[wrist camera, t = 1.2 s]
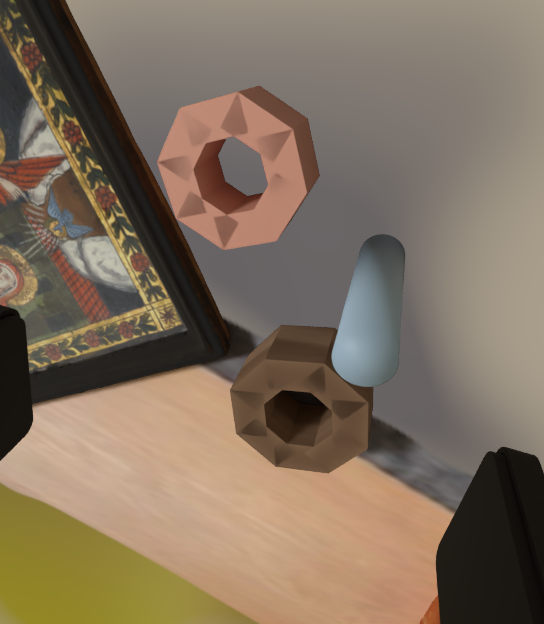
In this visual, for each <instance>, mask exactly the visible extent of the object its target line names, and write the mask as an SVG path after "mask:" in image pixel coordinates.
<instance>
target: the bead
mask: <svg viewBox="0 0 544 624" xmlns="http://www.w3.org/2000/svg"><path fill="white" fill-rule="evenodd" d="M337 333H338V330H336V329H335V328H327V327H309V326H291V325H281V326H280V327H279V328H278V329H276V330H275V331H274V332H273V333H272V334H271V335H270V336H269V337H268V338H266V339H265V340H264V341H263V342H262V343H261V344H260V345H259V346H258V347H257V348H255V349H254V350H253V351H252V352H251V353H250V354H249V355H248V357H247V359H246V361H245V363H244V365H243V367H242V369H241V370H240V372H239V374H238V376H237V378H236V380H235V382H234V383H233V385H232V387H231V389H230V394H231V400H232V407H233V414H234V421H235V428H236V434H237V435H239V436H240V437H241V438H242V439H243V440H245V441H246V442H247V443H248V444H249V445H251V446H252V447H253V448H254V449H255V450H257V451H258V452H259V453H260V454H261V455H263V456H264V457H265V458H266V459H267V460H269V461H270V462H271V463H272V464H273V465H275V466H276V467H283V468H291V469H298V470H306V471H314V472H321V473H330V472H331V471H333V470H335V469H336V468H338V467H339V466H341V465H343V464H344V463H346V462H347V461H349V460H351V459H352V458H354V457H355V456H357V455H359V454H360V453H362V452H363V451H365V450H367V449H368V442H369V434H370V426H371V418H372V410H373V387H363V386H358V385H354V384H352V383H350V382H348V381H346V380H345V379H343V378H342V377H341V376H340V375H339V374H338V373H337V371H336V370H335V368H334V366H333V363H332V351H333V347H334V343H335V340H336V336H337ZM284 390H288V391H299V392H311V393H312V394H313V395H314V396H315V397H316V398H318V399H319V400H320V401H321V402H322V403H323V404H324V405H325V406H319V405H309V404H300V403H298V402H297V401H296V400H295V399H294V398H293V397H291V396H290V395H289V394H288V393H287V392H286V391H284Z"/></svg>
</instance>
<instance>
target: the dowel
mask: <svg viewBox="0 0 544 624" xmlns="http://www.w3.org/2000/svg"><path fill="white" fill-rule="evenodd" d="M404 264H405V251H404V248H403V246H402V244H401V243H400V242H399V241H398V240H397V239H396V238H394V237H392V236H389V235H382V234H381V235H375V236H372V237H370V238H369V239H367V240H366V241H365V242H364V244H363V245H362V247H361V249H360V253H359V256H358V260H357V264H356V267H355V271H354V274H353V278H352V282H351V286H350V289H349V293H348V296H347V300H346V303H345V307H344V311H343V315H342V318H341V322H340V325H339V329H338V333H337V336H336V340H335V343H334V347H333V351H332V363H333V366H334V368H335V370H336V371H337V373H338V374H339V375H340V376H341V377H342V378H343V379H345V380H346V381H348V382H350V383H352V384H354V385H358V386H363V387H373V386H378V385H381V384H383V383H385V382H387V381H388V380H390V379H391V378H392V377H393V375H394V374H395V373H396V370H397V368H398V363H399V348H400V331H401V314H402V297H403V280H404Z"/></svg>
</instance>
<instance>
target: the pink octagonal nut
mask: <svg viewBox="0 0 544 624" xmlns="http://www.w3.org/2000/svg"><path fill="white" fill-rule="evenodd" d="M233 136H234V137H236V138H237V139H239V140H240V141H242V142H243V143H244V144H246V145H247V146H249V147H251V148H252V149H253V150H255V151H257V152H258V153H259V154H261V159H262V163H263V166H264V171H265V174H266V179H267V182H268V186H267V188H266V190H265V191H264V193H261V194H256V195H251V196H246V195H245V194H243V193H242V192H240V191H239V190H237V189H236V188H234V187H233V186H231V185H230V184H228V183H227V182H225V179H224V175H223V172H222V169H221V165H220V161H219V158H218V154H219V152H220V150H221V148H222V146H223V144H224V142H225V140H226V138H229V137H233ZM157 164H158V167H159V170H160V173H161V176H162V179H163V182H164V185H165V188H166V190H167V193H168V196H169V199H170V202H171V205H172V208H173V211H174V214H175V217H176V219H178V220H179V221H180V222H182V223H183V224H185V225H187V226H188V227H190V228H191V229H193V230H194V231H196V232H197V233H199V234H200V235H202V236H203V237H205V238H206V239H208V240H209V241H211V242H213V243H214V244H215V245H217V246H219V247H220V248H222V249H223V250H226V249H232V248H238V247H244V246H250V245H256V244H262V243H268V242H274V241H277V240H278V238H279V237H280V235H281V234H282V233H283V231H284V230H285V228H286V227H287V225H288V224H289V223H290V221H291V220H292V218H293V217H294V215H295V213H296V211H297V210H298V209H299V207H300V206H301V204H302V203H303V201H304V199H305V198H306V196H307V195H308V193H309V192H310V190H311V188H312V187H313V185H314V184H315V182H316V181H317V179H318V177H319V176H320V175H319V170H318V166H317V161H316V156H315V151H314V147H313V141H312V137H311V132H310V128H309V122H308V119H307V118H306V117H304V116H303V115H301V114H300V113H299V112H297V111H296V110H294V109H293V108H291V107H290V106H288V105H287V104H286V103H284V102H283V101H281V100H280V99H278V98H276V97H275V96H274V95H272V94H271V93H269V92H268V91H266V90H265V89H263V88H262V87H261V86H256V87H253V88H249V89H246V90H242V91H239V92H235V93H231V94H228V95H224V96H221V97H217V98H213V99H210V100H206V101H202V102H199V103H195V104H192V105H188V106H185V107H181V108H180V109H179V112H178V114H177V117H176V119H175V121H174V123H173V126H172V128H171V130H170V133H169V135H168V138H167V140H166V142H165V144H164V147H163V149H162V151H161V154H160V156H159V158H158V161H157Z"/></svg>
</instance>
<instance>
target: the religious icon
mask: <svg viewBox="0 0 544 624" xmlns="http://www.w3.org/2000/svg"><path fill="white" fill-rule="evenodd" d="M0 305H3V306H6V307H10V308H13V309H15V310H17V311H18V313H19V314H20V318H22V319H23V320H24V321H25V325H26V336H27V348H28V360H29V373H30V385H31V397H32V404H35V403H38V402H42V401H47V400H51V399H55V398H59V397H63V396H67V395H72V394H76V393H82V392H85V391H88V390H92V389H96V388H101V387H105V386H109V385H113V384H116V383H120V382H124V381H128V380H133V379H137V378H141V377H145V376H149V375H153V374H157V373H161V372H165V371H170V370H174V369H178V368H182V367H186V366H190V365H194V364H198V363H202V362H207V361H211V360H214V359H217V358H220V357H223V356H225V355H226V354H227V353H228V352H229V349H230V344H229V341H230V335H229V332H228V329H227V327H226V325H225V323H224V321H223V319H222V316H221V314H220V312H219V310H218V307H217V306H216V303H215V301H214V299H213V297H212V295H211V292H210V290H209V288H208V287H207V284H206V282H205V280H204V277H203V275H202V273H201V271H200V269H199V266H198V265H197V262H196V260H195V258H194V256H193V253H192V251H191V249H190V247H189V245H188V243H187V241H186V239H185V237H184V235H183V233H182V231H181V229H180V227H179V225H178V223H177V221H176V219H175V217H174V215H173V213H172V210H171V208H170V206H169V204H168V202H167V200H166V198H165V197H164V195H163V193H162V191H161V189H160V187H159V185H158V183H157V181H156V179H155V177H154V175H153V173H152V171H151V169H150V167H149V166H148V164H147V162H146V160H145V158H144V156H143V154H142V152H141V150H140V149H139V147H138V145H137V143H136V142H135V140H134V138H133V136H132V133H131V131H130V129H129V127H128V125H127V123H126V120H125V118H124V117H123V114H122V113H121V110H120V108H119V106H118V104H117V102H116V100H115V98H114V96H113V94H112V92H111V90H110V88H109V86H108V84H107V83H106V81H105V78H104V77H103V74H102V72H101V70H100V68H99V66H98V64H97V62H96V60H95V58H94V56H93V54H92V52H91V50H90V48H89V46H88V44H87V43H86V41H85V39H84V37H83V35H82V33H81V31H80V29H79V27H78V25H77V23H76V21H75V19H74V17H73V15H72V13H71V11H70V9H69V7H68V5H67V3H66V0H0Z"/></svg>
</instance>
